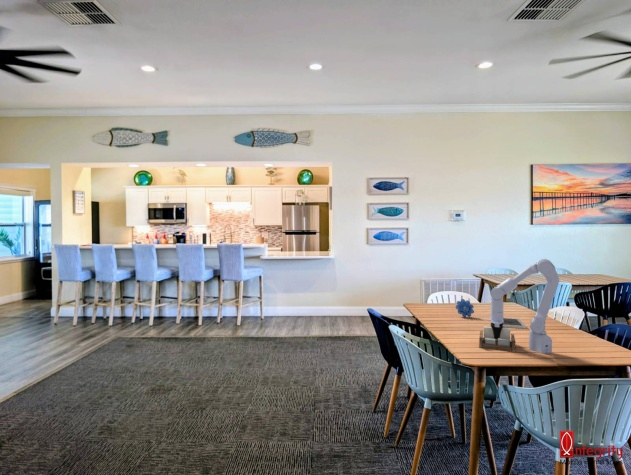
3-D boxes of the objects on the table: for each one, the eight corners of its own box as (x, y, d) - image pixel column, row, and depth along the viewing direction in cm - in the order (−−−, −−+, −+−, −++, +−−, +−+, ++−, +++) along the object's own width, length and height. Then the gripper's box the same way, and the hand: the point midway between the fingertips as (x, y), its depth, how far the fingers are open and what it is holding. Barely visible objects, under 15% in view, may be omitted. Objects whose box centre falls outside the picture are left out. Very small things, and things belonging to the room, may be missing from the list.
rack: (515, 353, 187) (515, 341, 187) (478, 349, 194) (478, 337, 194) (513, 340, 209) (513, 329, 209) (480, 336, 216) (480, 326, 216)
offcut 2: (509, 350, 190) (509, 340, 190) (498, 348, 192) (498, 339, 192) (509, 348, 192) (509, 339, 192) (497, 347, 194) (498, 338, 194)
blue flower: (456, 318, 261) (456, 299, 261) (454, 315, 268) (455, 298, 267) (475, 318, 259) (475, 300, 258) (473, 316, 265) (473, 298, 265)
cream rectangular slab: (510, 345, 197) (510, 329, 197) (483, 342, 202) (483, 327, 202) (509, 344, 198) (510, 328, 198) (483, 342, 203) (483, 326, 203)
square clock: (492, 320, 258) (497, 328, 238) (492, 316, 258) (497, 323, 238) (518, 322, 253) (526, 330, 233) (518, 317, 253) (526, 325, 233)
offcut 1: (495, 348, 192) (495, 340, 192) (485, 347, 194) (485, 339, 194) (495, 347, 195) (495, 338, 195) (485, 345, 197) (485, 337, 196)
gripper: (488, 308, 208) (488, 333, 208) (488, 313, 195) (487, 341, 195) (503, 309, 205) (503, 335, 205) (504, 314, 192) (503, 342, 192)
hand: (496, 338), depth 200 cm, fingers open, 3 cm apart
